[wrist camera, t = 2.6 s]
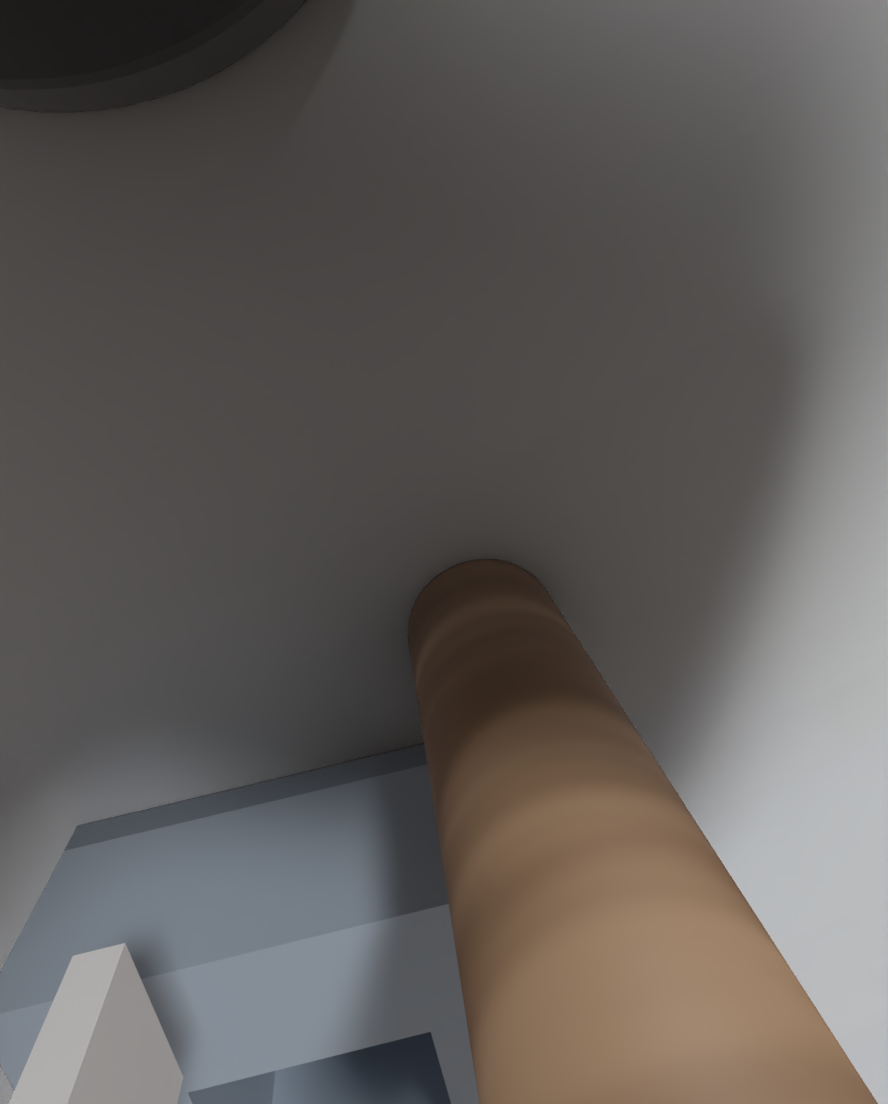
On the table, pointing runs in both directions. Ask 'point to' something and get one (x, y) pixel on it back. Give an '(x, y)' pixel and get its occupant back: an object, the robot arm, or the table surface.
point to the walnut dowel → (590, 881)
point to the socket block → (269, 938)
